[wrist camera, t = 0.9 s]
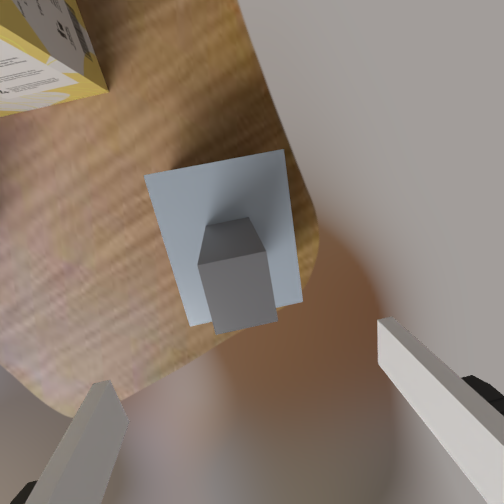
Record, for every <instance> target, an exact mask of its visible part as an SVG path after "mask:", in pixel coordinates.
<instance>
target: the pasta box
mask: <svg viewBox="0 0 504 504" xmlns="http://www.w3.org/2000/svg"><path fill="white" fill-rule="evenodd" d="M107 92H109V91H108V88H107V85H106V82H105V80H104V77H103V74H102V71H101V69H100V66H99V63H98V61H97V58H96V55H95V52H94V50H93V47H92V44H91V41H90V39H89V36H88V33H87V30H86V28H85V25H84V22H83V19H82V17H81V14H80V11H79V8H78V6H77V3H76V0H0V117H2V116H7V115H11V114H16V113H20V112H24V111H29V110H33V109H37V108H42V107H46V106H50V105H55V104H59V103H64V102H68V101H72V100H77V99H81V98H85V97H90V96H94V95H98V94H103V93H107Z"/></svg>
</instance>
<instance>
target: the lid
mask: <svg viewBox="0 0 504 504" xmlns="http://www.w3.org/2000/svg"><path fill="white" fill-rule="evenodd" d="M144 178H145V182H146V185H147V188H148V191H149V195H150V198H151V201H152V204H153V208H154V211H155V214H156V217H157V221H158V224H159V227H160V230H161V234H162V237H163V240H164V243H165V247H166V250H167V253H168V256H169V260H170V263H171V266H172V269H173V273H174V276H175V279H176V282H177V286H178V289H179V292H180V295H181V299H182V302H183V305H184V308H185V312H186V315H187V318H188V321H189V325H190V326H194V325H199V324H203V323H208V322H213V326H214V329H215V333H216V335H217V334H222V333H226V332H231V331H235V330H240V329H244V328H249V327H253V326H258V325H262V324H267V323H271V322H276V321H278V318H277V312H276V307H281V306H285V305H290V304H295V303H299V302H303V299H302V291H301V283H300V275H299V267H298V259H297V251H296V243H295V235H294V227H293V219H292V211H291V203H290V195H289V187H288V178H287V170H286V162H285V154H284V149H281V150H276V151H270V152H265V153H260V154H254V155H249V156H244V157H238V158H233V159H228V160H222V161H217V162H212V163H206V164H201V165H196V166H191V167H185V168H180V169H175V170H169V171H164V172H159V173H153V174H148V175H144Z"/></svg>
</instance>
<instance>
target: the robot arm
mask: <svg viewBox="0 0 504 504" xmlns="http://www.w3.org/2000/svg"><path fill="white" fill-rule="evenodd" d="M378 364H379V365H380V367H381V368H382V369H383V370H384V372H385V373H386V374H387V376H388V377H389V378H390V379H391V381H392V382H393V383H394V384H395V386H396V387H397V388H398V390H399V391H400V392H401V393H402V395H403V396H404V397H405V398H406V400H407V401H408V402H409V404H410V405H411V406H412V407H413V409H414V410H415V411H416V412H417V413H418V415H419V416H420V417H421V419H422V420H423V421H424V423H425V424H426V425H427V427H428V428H429V429H430V430H431V432H432V433H433V434H434V435H435V437H436V438H437V439H438V441H440V443H441V444H442V446H443V447H444V448H445V449H446V451H447V452H448V453H449V454H450V456H451V457H452V458H453V460H454V461H455V462H456V463H457V465H458V466H459V467H460V468H461V470H462V471H463V472H464V474H465V475H466V476H467V477H468V479H469V480H470V481H471V483H472V484H473V485H474V486H475V487H476V489H477V490H478V491H479V493H480V494H481V495H482V497H483V498H484V499H485V500H486V502H487V503H488V504H504V396H503V395H502V394H501V393H500V392H498V391H497V390H496V389H495V388H494V387H492V386H491V385H490V384H488V383H486V382H484V381H482V380H480V379H479V378H476V377H475V376H473V375H471V376H467V377H463V378H460V377H459V376H458V375H457V374H456V373H455V372H453V371H452V370H451V369H450V368H449V367H448V366H447V365H446V364H445V363H443V362H442V361H441V360H440V359H439V358H438V357H437V356H436V355H435V354H433V353H432V352H431V351H430V350H429V349H428V348H427V347H426V346H425V345H423V344H422V343H421V342H420V341H419V340H418V339H417V338H416V337H415V336H413V335H412V334H411V333H410V332H409V331H408V330H407V329H406V328H405V327H403V326H402V325H401V324H400V323H399V322H398V321H397V320H396V319H394V318H393V317H388V318H383V319H379V320H378ZM128 424H129V420H128V417H127V415H126V414H125V411H124V409H123V407H122V405H121V403H120V400H119V398H118V396H117V394H116V392H115V390H114V388H113V385H112V383H111V381H110V380H107V381H103V382H98V383H94V384H93V385H92V387H91V389H90V390H89V392H88V394H87V396H86V397H85V399H84V401H83V403H82V404H81V406H80V408H79V410H78V411H77V413H76V415H75V417H74V418H73V420H72V422H71V424H70V426H69V427H68V429H67V431H66V433H65V435H64V436H63V438H62V439H61V441H60V443H59V445H58V447H57V448H56V450H55V452H54V454H53V455H52V457H51V459H50V460H49V462H48V464H47V466H46V468H45V469H44V471H43V473H42V474H41V476H40V478H39V480H37V481H33V482H29V483H27V485H26V486H25V487H24V488H23V489H22V490H21V491H20V492H19V494H18V495H17V496H16V497H15V498H14V499H13V500H12V502H11V503H10V504H101V501H102V498H103V495H104V493H105V490H106V487H107V484H108V481H109V478H110V475H111V473H112V470H113V467H114V464H115V461H116V458H117V455H118V453H119V450H120V447H121V444H122V441H123V438H124V436H125V433H126V430H127V427H128Z"/></svg>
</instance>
